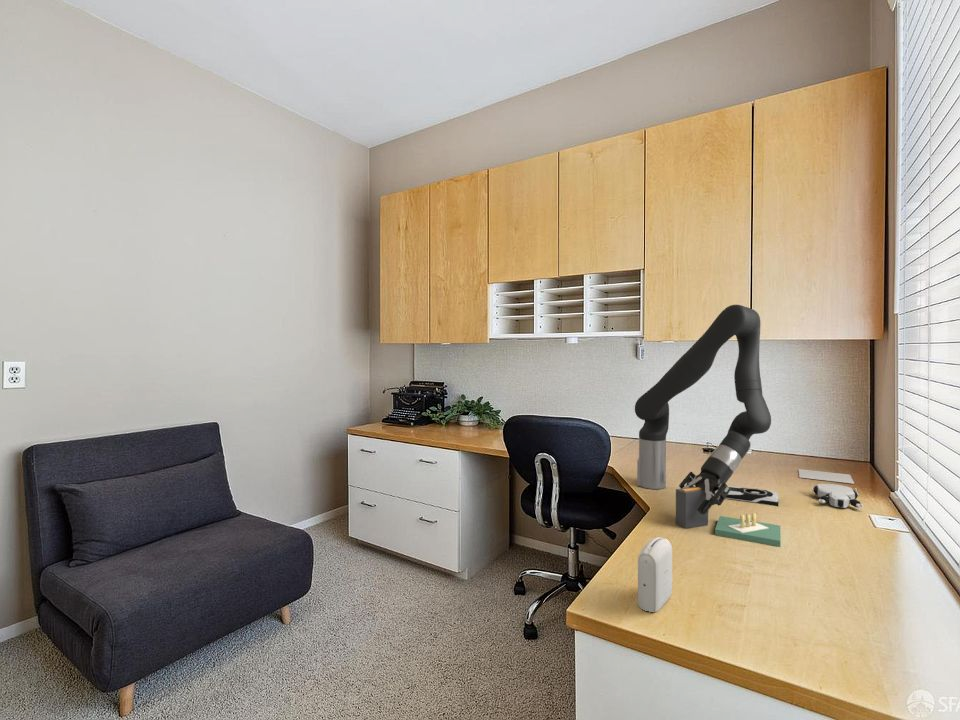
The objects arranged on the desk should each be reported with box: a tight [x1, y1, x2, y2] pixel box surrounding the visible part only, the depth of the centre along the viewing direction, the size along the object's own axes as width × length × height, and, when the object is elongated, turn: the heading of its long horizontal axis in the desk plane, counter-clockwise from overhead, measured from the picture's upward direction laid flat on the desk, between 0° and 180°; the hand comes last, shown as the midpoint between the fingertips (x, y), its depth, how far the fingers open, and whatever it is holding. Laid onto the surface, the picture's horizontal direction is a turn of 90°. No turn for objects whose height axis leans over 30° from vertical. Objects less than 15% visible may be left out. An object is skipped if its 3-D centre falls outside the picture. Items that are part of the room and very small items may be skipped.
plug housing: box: [675, 486, 709, 530], centre depth 138 cm, size 8×4×10 cm, turn 108°
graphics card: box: [716, 485, 780, 507], centre depth 163 cm, size 10×3×25 cm
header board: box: [714, 512, 781, 548], centre depth 132 cm, size 15×12×5 cm
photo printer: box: [637, 536, 673, 613], centre depth 98 cm, size 10×4×12 cm, turn 140°
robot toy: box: [811, 483, 864, 509], centre depth 156 cm, size 12×4×15 cm
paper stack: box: [798, 468, 855, 484], centre depth 184 cm, size 23×25×1 cm
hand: (689, 507), depth 138 cm, fingers open, 8 cm apart
